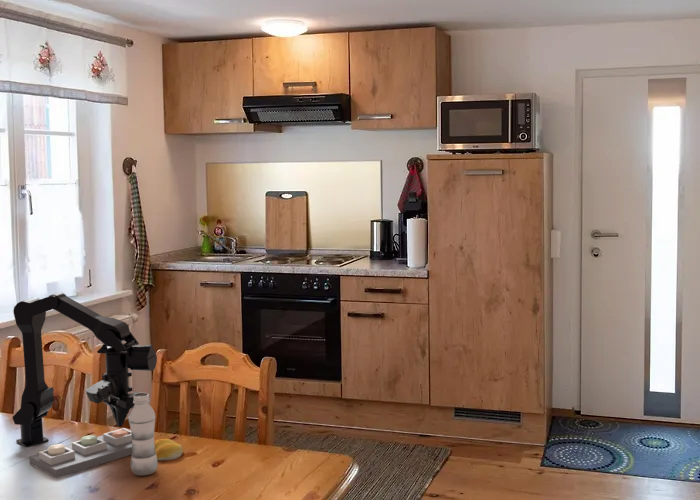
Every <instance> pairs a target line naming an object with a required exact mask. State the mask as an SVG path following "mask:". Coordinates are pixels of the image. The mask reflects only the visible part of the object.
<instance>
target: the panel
mask: <svg viewBox="0 0 700 500" xmlns="http://www.w3.org/2000/svg"><path fill="white" fill-rule="evenodd" d="M120 430H124V431H127V432H128V435H125V436H122V437H119V438H115V437H113V436H112V433H113V432H115V431H120ZM128 456H132V437H131V429H130V430H129V429H128V428H125V427H122V428H120V429H115V430H112V431H108V432H105V433H102V435H99V436H97V444H94V445H91V446H87V447H84V446H82V445H81V439H80V440H77V441H72V442H71V443H70V444H67V445H65V453H63V454H60V455H56V456H50V455H48V448H47V449H45V450H41V451H38V453H35V454H32V455H31V454H30V455H29V456H28V457H29V458H28V459H29V464H30V465H31V466H33V467H35V468H37V469H39V470H40V471H43V472H45V473H47V474H48V475H50V476H52V477H54V478H60V477H63V476H66V475H70V474H74V473H76V472H79V471H82V470H86V469H89V468H92V467H97V466H99V465H102V464H104V463H105V464H107V463H109V462H111V461H115V460H118V459H122V458H125V457H128Z"/></svg>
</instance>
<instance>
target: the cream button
mask: <svg viewBox="0 0 700 500" xmlns="http://www.w3.org/2000/svg"><path fill="white" fill-rule="evenodd" d="M65 446H66V445H65V444H62V443H61V444H60V443H57V444H52V445H49V446H48V447H47V449H48V455H50V456H56V455H60V454H63V453H65Z"/></svg>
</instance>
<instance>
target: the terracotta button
mask: <svg viewBox="0 0 700 500" xmlns="http://www.w3.org/2000/svg"><path fill="white" fill-rule="evenodd" d="M114 431H115V430H114ZM125 435H128V432H127V431H124V430H120V431H115V432H113V433H112V436H113V437H115V438H119V437H122V436H125Z"/></svg>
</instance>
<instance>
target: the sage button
mask: <svg viewBox="0 0 700 500" xmlns="http://www.w3.org/2000/svg"><path fill="white" fill-rule="evenodd" d="M97 437H98V436H97V435H94V434H90V435H85V436H84V435H83V436H82V437H81V438H80V440H81V445H82V446H84V447H87V446H91V445H94V444H97Z"/></svg>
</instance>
